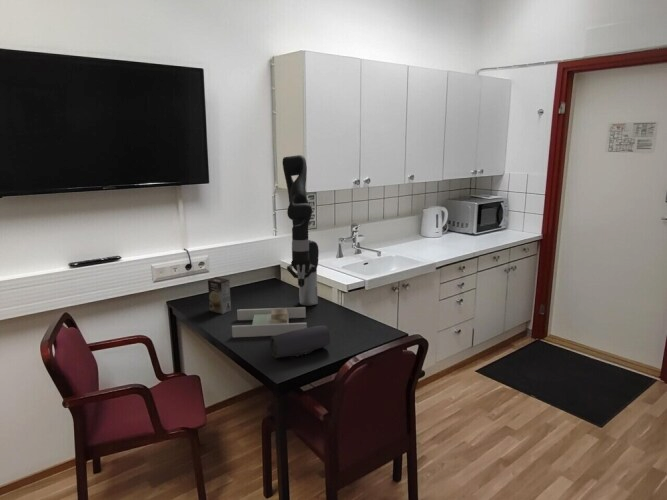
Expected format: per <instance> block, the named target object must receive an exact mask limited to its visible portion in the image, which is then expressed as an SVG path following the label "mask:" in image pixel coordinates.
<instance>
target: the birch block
mask: <svg viewBox="0 0 667 500" xmlns="http://www.w3.org/2000/svg"><path fill="white" fill-rule="evenodd" d="M271 322H272V323H283V322H287V309H277V310H272V312H271Z"/></svg>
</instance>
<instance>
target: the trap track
mask: <svg viewBox="0 0 667 500" xmlns="http://www.w3.org/2000/svg"><path fill="white" fill-rule="evenodd" d="M277 309H287V322H283V323H272V322H271V312H272V310H277ZM236 313H237V314H236V316H237V321H252V323H251V324H244V325H243V324H241V325H231V333H232V338H247V337H248V338H251V337H255V338H256V337H269V336H270V337H273V336H276V335H279V334H283V333H286V332H290V331H295V330H299V329H304V328H308V326H307V322H291V323H290V322H289V321H290V319H301V318H302V319H303V318H304V319H306V314H307V313H306V306H299V307H293V306H292V307H275V308H273V307H272V308H271V307H270V308H269V307H268V308H245V309H244V308H243V309H237V310H236Z"/></svg>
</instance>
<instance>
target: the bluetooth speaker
mask: <svg viewBox="0 0 667 500" xmlns="http://www.w3.org/2000/svg"><path fill="white" fill-rule="evenodd" d="M330 344H331V335H330V331H329V328H328V326H326V325H324V324H323V325H316V326H311V327H307V328H304V329H299V330H295V331H290V332H286V333H283V334H279V335H276V336H270V339H269V349H270V352H271V354H272V356H273V357H274V358H275V359H280V358H285V357H289V356H296V357H298V356H297V355H301V354H305V353H308V354H310V353H309V352H311V353H313V352H314V351H315V350H319V349H321V348H324V347H327V346H329V345H330ZM312 351H313V352H312ZM305 355H306V354H305ZM301 356H302V355H301Z"/></svg>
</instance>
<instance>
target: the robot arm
mask: <svg viewBox="0 0 667 500" xmlns="http://www.w3.org/2000/svg"><path fill="white" fill-rule="evenodd" d="M281 162H282V169H283V175H284V178H285V182H286V187H287V194H288V202H289V204H288V206H287V211H286V212H287V213H286V214H287V217H288V218H289V219H290V220H291V221H292V222H291V223H292V228H291V233H292V234H291V239H292V241H291V259H292V260H291V262H290V264H289V265H287V266H286V270H287V272H289V274H290V275H291V276H292V277H293V278H294V279H297V284H298V285H297V286H298V287H299V288H298V292H299V293H298V294H299V304H300V305H302V306H314V305H318V304H319V303H318V302H319V300H318V299H319V297H318V296H319V295H318V273H317V272H318V269H317V268H318V266H319V252H320V251H319V246H318V245H319V244H318V243H317V242H316V241H314V240H311V239H309V227H310V226H309V225H310V222H311V218H312V214H313V208H312V205H311V204H310V203H309V201H308V199H307V190H306V189H307V188H306V187H307V186H306V185H307V174H308V173H307V172H308V171H307V170H308V169H307V168H308V167H307V160H306V158H305V156H304V155H303V154H297V155H292V156H291V155H289V156H284V157H283V158H282V161H281ZM293 176H297V177H296V179H295V180H294V179H293V178H292V177H293ZM293 269H294V270H293ZM295 271H296V272H295Z"/></svg>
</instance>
